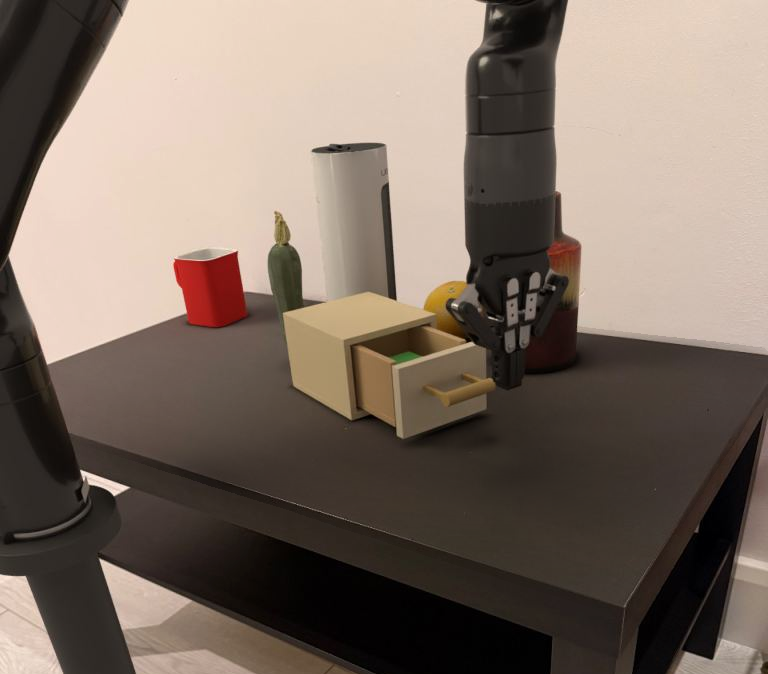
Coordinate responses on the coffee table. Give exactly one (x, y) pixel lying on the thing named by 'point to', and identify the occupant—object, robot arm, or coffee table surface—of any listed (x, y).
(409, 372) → the drawer
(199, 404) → the coffee table surface
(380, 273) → the speaker
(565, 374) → the coffee table surface
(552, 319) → the vase
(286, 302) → the vegetable
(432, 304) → the fruit
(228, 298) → the mug
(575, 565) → the coffee table surface
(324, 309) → the cabinet
